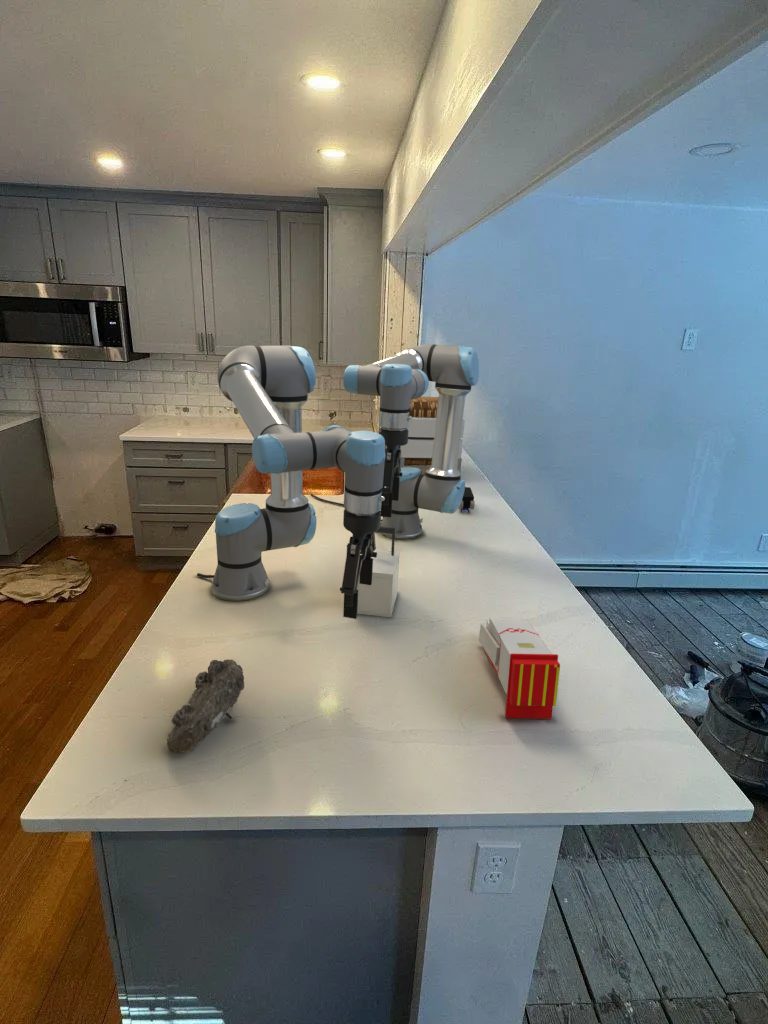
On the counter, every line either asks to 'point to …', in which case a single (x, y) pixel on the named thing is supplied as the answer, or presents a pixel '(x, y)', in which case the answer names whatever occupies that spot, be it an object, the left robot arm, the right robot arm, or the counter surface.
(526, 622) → the toy
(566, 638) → the counter surface
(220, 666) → the fossil
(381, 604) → the chest
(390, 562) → the lid
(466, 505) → the figurine character
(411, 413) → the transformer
